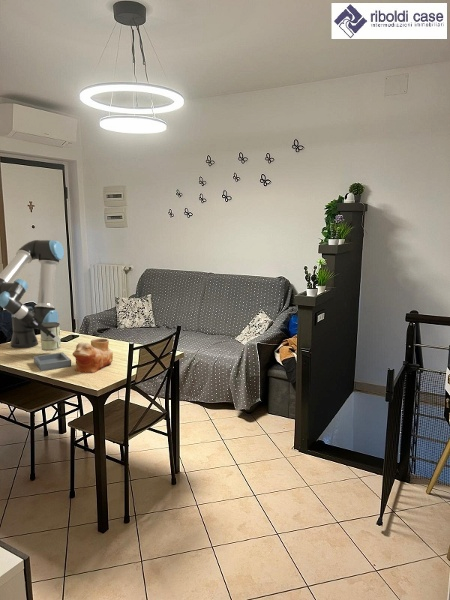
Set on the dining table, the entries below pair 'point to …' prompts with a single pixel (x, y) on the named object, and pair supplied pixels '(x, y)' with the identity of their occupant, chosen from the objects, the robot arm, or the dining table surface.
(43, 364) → the tray
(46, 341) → the coffee can
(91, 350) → the ceramic vessel
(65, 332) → the dining table surface
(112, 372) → the dining table surface
